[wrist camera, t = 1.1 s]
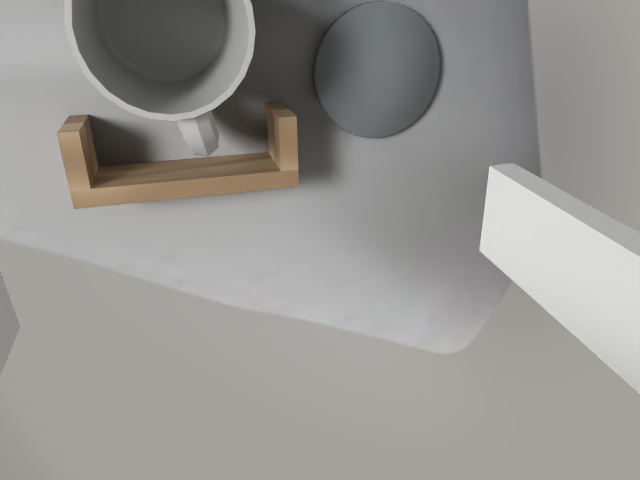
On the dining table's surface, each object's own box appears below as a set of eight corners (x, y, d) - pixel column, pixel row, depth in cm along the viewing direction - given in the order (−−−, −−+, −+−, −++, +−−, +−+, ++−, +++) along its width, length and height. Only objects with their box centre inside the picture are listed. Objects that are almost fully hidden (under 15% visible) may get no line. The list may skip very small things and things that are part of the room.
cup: (207, -73, 27) (225, -98, 20) (259, 114, 32) (290, 154, 24) (67, -40, 26) (27, -52, 19) (141, 148, 31) (134, 201, 23)
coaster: (312, 2, 30) (315, 2, 30) (440, -1, 32) (445, 0, 32) (314, 140, 34) (317, 142, 33) (430, 131, 36) (434, 133, 35)
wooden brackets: (18, -122, 25) (-6, -140, 21) (272, -114, 27) (289, -129, 24) (83, 184, 31) (74, 209, 28) (284, 166, 34) (298, 186, 30)
